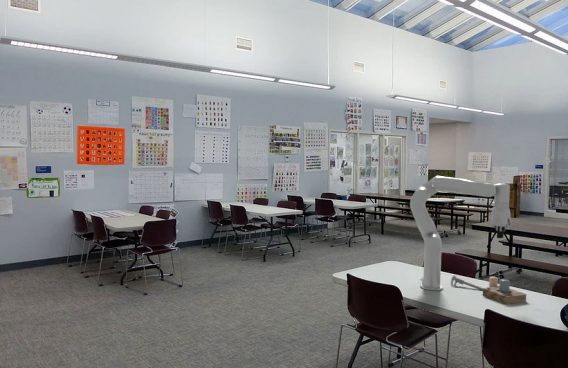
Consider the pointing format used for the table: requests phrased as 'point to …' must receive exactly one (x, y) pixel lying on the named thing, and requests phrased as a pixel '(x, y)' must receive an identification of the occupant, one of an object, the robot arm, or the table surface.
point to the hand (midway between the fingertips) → (500, 238)
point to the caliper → (464, 283)
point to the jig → (504, 295)
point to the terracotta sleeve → (493, 282)
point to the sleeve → (504, 285)
